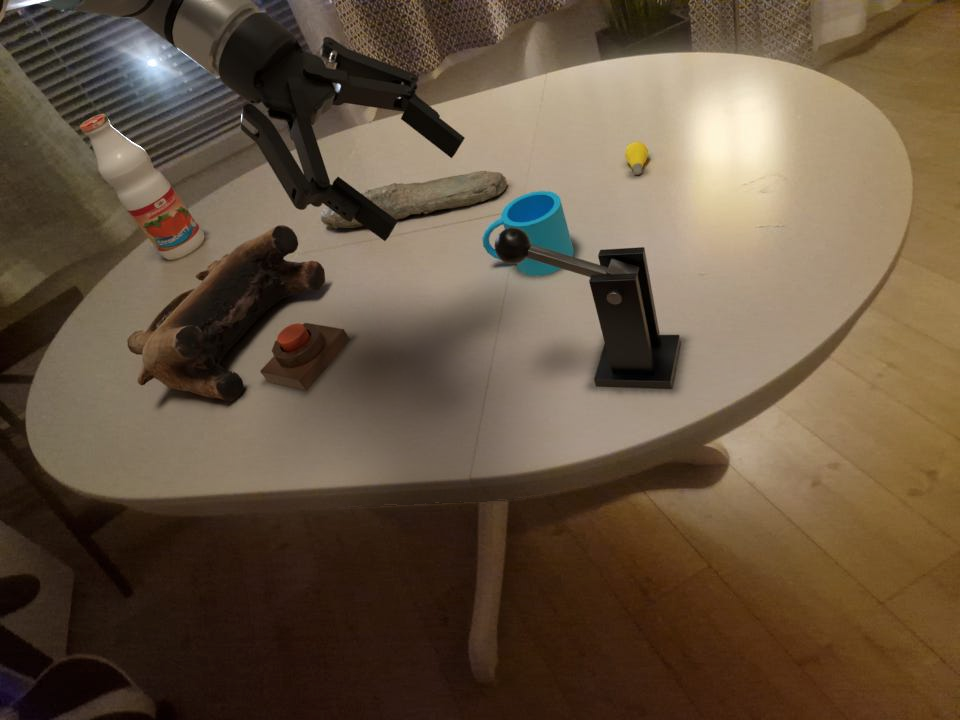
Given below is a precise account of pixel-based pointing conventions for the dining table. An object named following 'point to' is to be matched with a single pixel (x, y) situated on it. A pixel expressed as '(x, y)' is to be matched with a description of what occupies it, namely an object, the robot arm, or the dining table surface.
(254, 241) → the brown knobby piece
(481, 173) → the long grey stone
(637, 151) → the light bulb
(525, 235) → the lever
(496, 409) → the dining table surface
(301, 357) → the button block
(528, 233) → the mug
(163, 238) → the fruit juice
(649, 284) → the bracket
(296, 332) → the button
